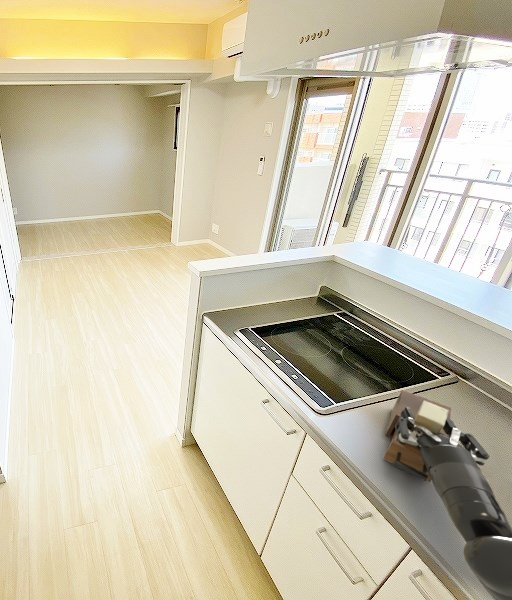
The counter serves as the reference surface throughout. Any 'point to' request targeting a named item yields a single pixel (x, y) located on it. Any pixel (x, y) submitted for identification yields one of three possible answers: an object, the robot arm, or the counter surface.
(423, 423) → the cosmetic box
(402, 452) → the drawer
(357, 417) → the counter surface
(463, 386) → the counter surface
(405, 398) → the cabinet
